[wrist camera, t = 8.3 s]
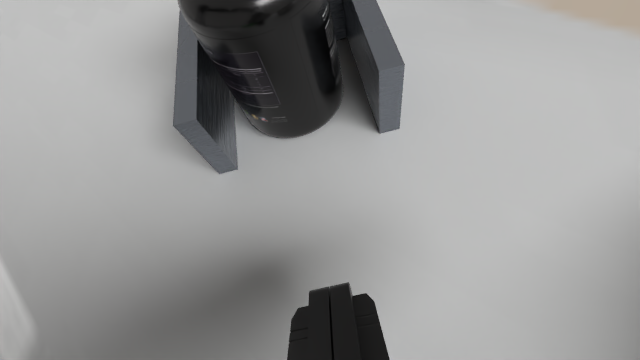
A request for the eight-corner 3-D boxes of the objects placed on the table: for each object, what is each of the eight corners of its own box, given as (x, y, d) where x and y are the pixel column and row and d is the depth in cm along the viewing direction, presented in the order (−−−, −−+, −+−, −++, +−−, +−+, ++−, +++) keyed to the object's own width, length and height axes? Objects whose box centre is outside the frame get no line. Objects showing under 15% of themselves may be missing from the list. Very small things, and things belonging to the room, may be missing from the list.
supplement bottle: (280, 54, 24) (201, -174, 13) (362, 78, 21) (343, -180, 11) (226, 122, 22) (80, -86, 11) (310, 158, 19) (223, -68, 9)
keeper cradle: (399, 128, 19) (411, -24, 11) (219, 173, 20) (111, 61, 12) (358, 21, 24) (347, -137, 16) (216, 60, 25) (138, -72, 17)
